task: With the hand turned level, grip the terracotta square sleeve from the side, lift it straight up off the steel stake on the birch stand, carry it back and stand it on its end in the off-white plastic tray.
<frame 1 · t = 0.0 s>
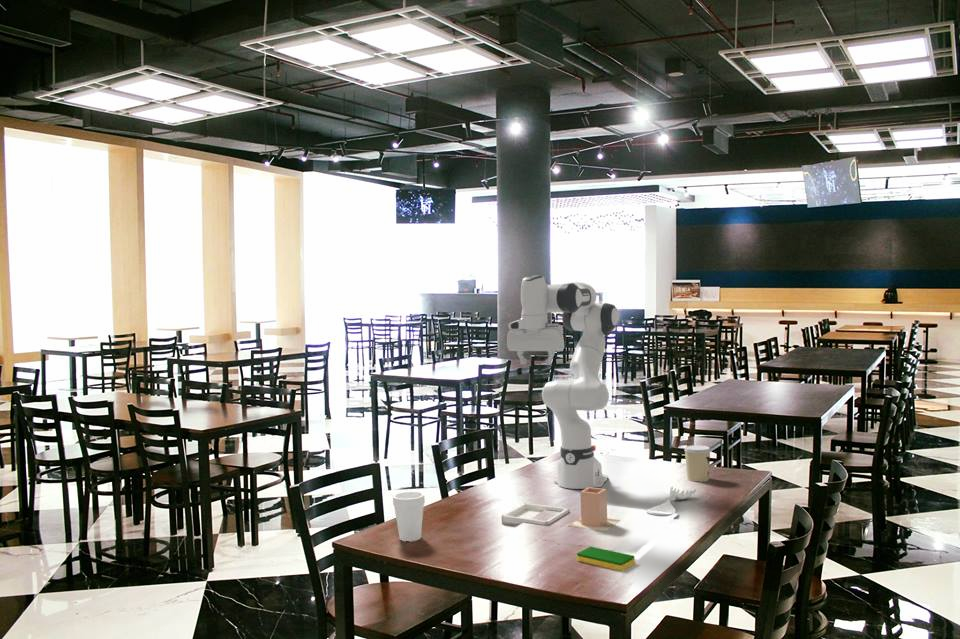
hand: (536, 364, 261), 48 cm above the table, tool pointing down, fingers open, 8 cm apart
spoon: (670, 508, 255), on the table
dish sponge: (605, 564, 206), on the table
foam cup: (410, 538, 232), on the table
coffee cup: (698, 479, 290), on the table
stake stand: (594, 527, 236), on the table
tray: (536, 519, 246), on the table
sleeve: (594, 522, 236), point 1 cm above the table, touching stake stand
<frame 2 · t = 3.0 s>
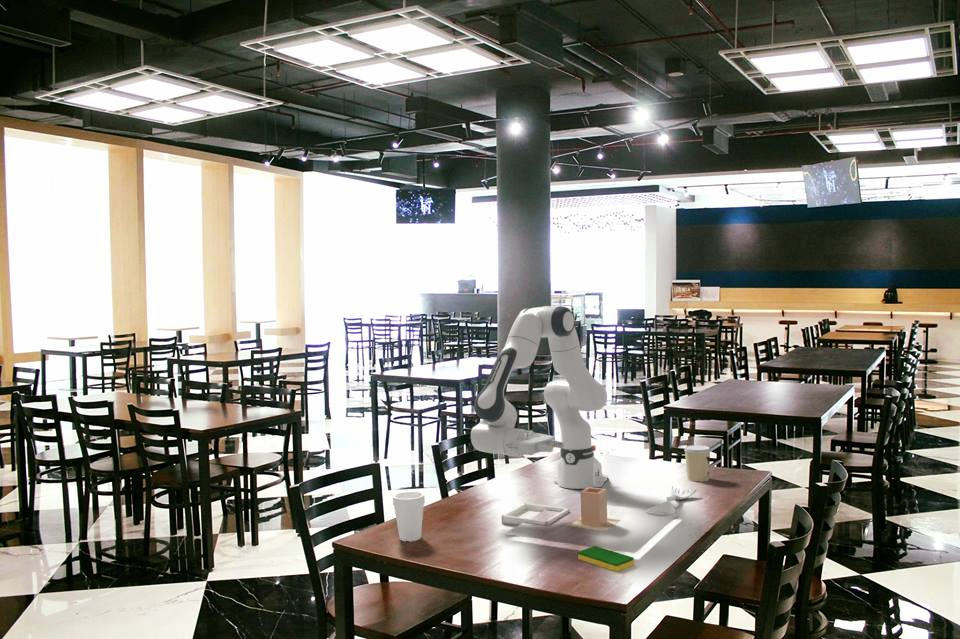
hand: (557, 447, 242), 24 cm above the table, tool horizontal, fingers open, 8 cm apart
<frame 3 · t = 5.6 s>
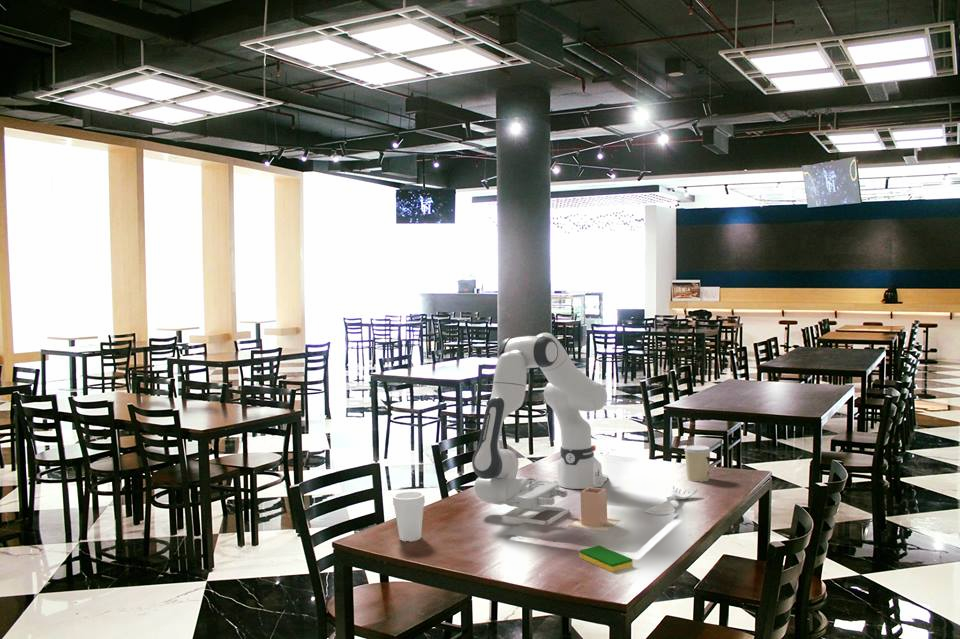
hand: (560, 497, 241), 8 cm above the table, tool horizontal, fingers open, 8 cm apart
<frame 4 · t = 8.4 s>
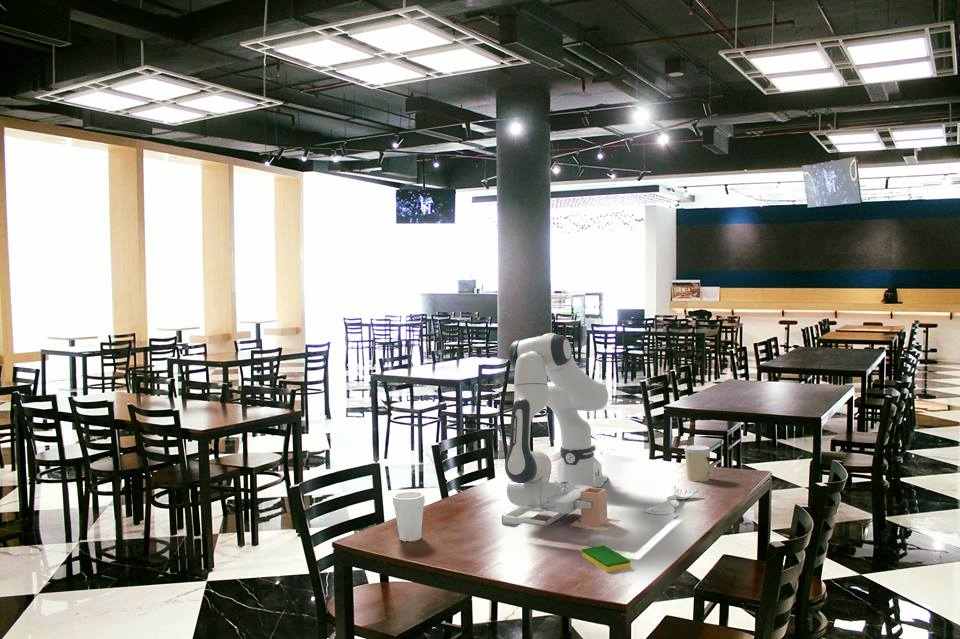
hand: (596, 502, 235), 8 cm above the table, tool horizontal, fingers closed on sleeve, 6 cm apart
sleeve: (594, 522, 236), point 2 cm above the table, touching gripper, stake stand
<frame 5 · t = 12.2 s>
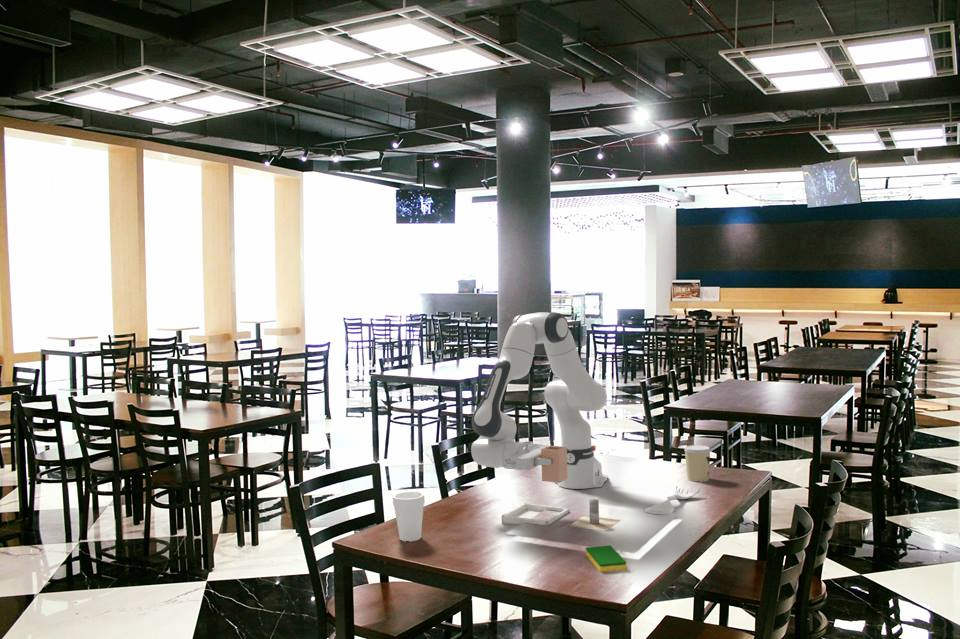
hand: (556, 459, 241), 20 cm above the table, tool horizontal, fingers closed on sleeve, 6 cm apart
sleeve: (554, 479, 242), point 14 cm above the table, touching gripper
when the fingers open (9 cm above the table, at t = 15.9 s): sleeve drops 1 cm, resting on tray.
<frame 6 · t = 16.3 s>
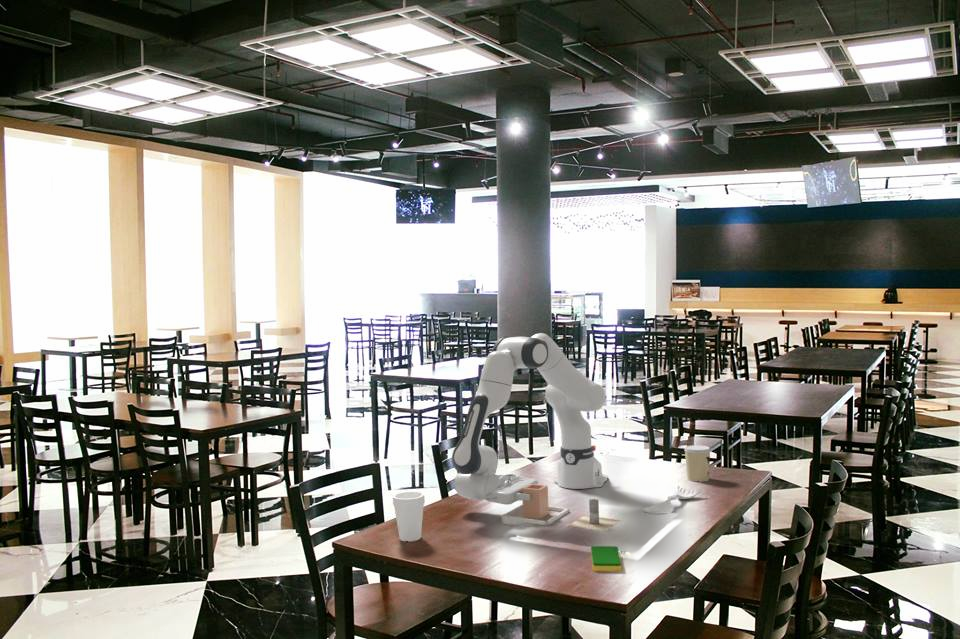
hand: (537, 493, 245), 9 cm above the table, tool horizontal, fingers open, 8 cm apart
sleeve: (535, 517, 246), point 1 cm above the table, touching tray
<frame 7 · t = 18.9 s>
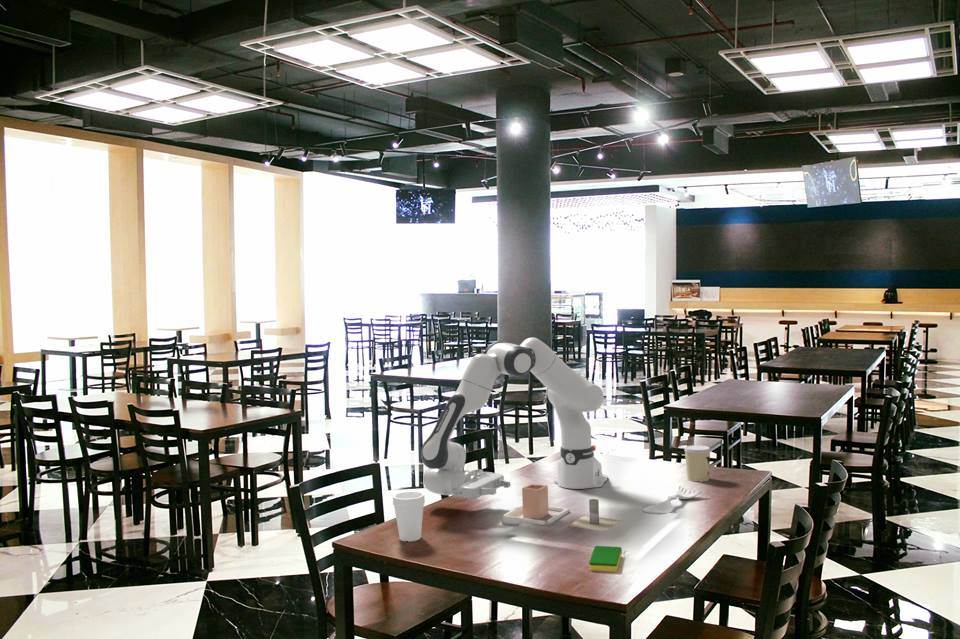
hand: (502, 488, 252), 9 cm above the table, tool horizontal, fingers open, 8 cm apart
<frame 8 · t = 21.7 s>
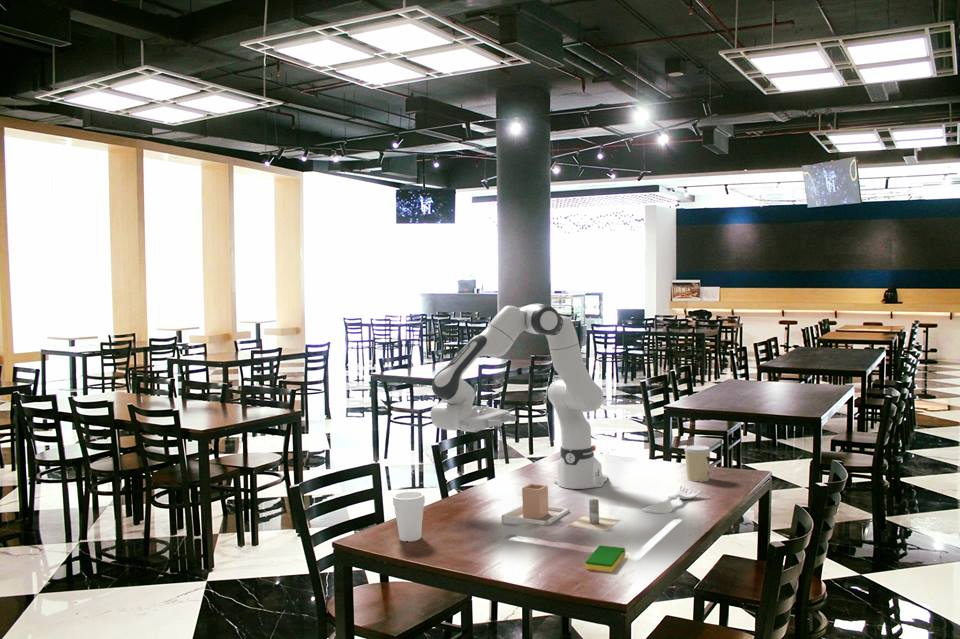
hand: (508, 421, 257), 30 cm above the table, tool horizontal, fingers open, 8 cm apart
at the end: sleeve inside the target area on the tray (0.0 cm from its centre), point 0.6 cm above the tray's base; sleeve tilted 0°; the gripper is holding nothing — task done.
